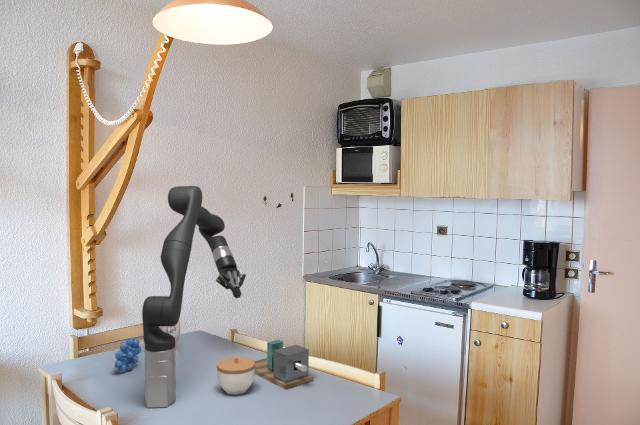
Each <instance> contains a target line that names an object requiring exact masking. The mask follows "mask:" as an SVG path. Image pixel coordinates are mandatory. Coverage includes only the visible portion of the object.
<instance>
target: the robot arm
mask: <svg viewBox="0 0 640 425" xmlns="http://www.w3.org/2000/svg"><path fill="white" fill-rule="evenodd" d="M167 202H168V205H169V208H170V209H171V210H172V211H173V212H175V213H177V214H180V215H181V216H183V217H182V218H181V220H180V221H179V222H178V223H177V224H176V225H175V226H174V228H172V230H171V231H170V232H169V233H168V234H167V235H166V237H165V239H164V241H163V245H162V248H161V253H160V262H161V265H162V268H163V269H164V271H165V273H166V275H167V278H168V281H169V283H170V292H169V295H167V296H165V295H151V296H150V295H148V296H147V297H146V298H145V299H144V302H143V304H142V309H141V310H142V311H141V314H142V315H141V316H142V330H143V332H142V333H143V334H142V335H143V336H142V338H143V343H144V404H145V405H146V408H168V407H169V406H170V405H172V404H174V402H176V400H177V399H176V398H177V397H176V394H177V393H176V392H177V390H176V389H177V386H176V385H177V382H176V376H177V375H176V374H177V373H176V368H177V367H176V365H177V364H176V361H177V360H176V357H177V356H176V341H175V337H174V336H172V335H170V334H168V333H166V332H164V331H162V328H160V327H162V326H175V325H176V324H177V323H178V321H179V318H180V317H181V313H182V305H183V304H182V303H183V297H184V289H185V280H186V277H187V270H188V267H189V261H190V258H191V253H192V252H191V251H192V247H193V241H194V240H193V239H194V235H195V230H196V226H197V227H198V232H199V234H200V235H201V237H203V238H204V240H205V241H206V243H207V244H208V246H209V248H210V251H211V253H212V258H213V261H214V264H215V266H216V269H217V272H218V273H219V274H218V276H217V278H216V279H215V282H217V283H218V284H219V285H221V287H223V288H224V289H225V290H230V291H231V293H232V295H233V297H234V298H235V299H240V298H241V296H242V292H241V289H240V288H241V287H242V286H243V285H244V281H245V279H246V277H247V274H246V273H243V274H242V273H241V272H240V270H239V268H238V264H237V263H236V260H235V258H234V255H233V253H232V250H231V249H230V247H229V244H228V242H227V239H226V237H225V236H224V235H219V234H221V233H222V232H223V231H224V230H225V228H226V226H225V222H224V220H223V219H222V218H221V217H220V216H219V215H217V214H214V213H211V212H210V211H209V210H208V209H207V208H205V207H204V206H202V204H203V192H202V188H200V187H199V186H197V185H179V186H173V187H171V188H170V189H169V191H168V193H167ZM180 319H181V318H180Z"/></svg>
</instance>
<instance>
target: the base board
mask: <svg viewBox="0 0 640 425" xmlns="http://www.w3.org/2000/svg"><path fill="white" fill-rule="evenodd" d="M254 362H255V374H254V375H257V376H258V377H260V378H263V379H264V380H266V381H268V382H270V383H272V384H274V385H276V386H278V387H279V386H280V388H281V387H282V388H281V389H283V388H284V389H283V390H285V389H286V390H290V389H293V388H296V387H299V386H302V385H305V384H304V383H306V384H308V383H307V382H309V383H311V382H310V381H312V382H314V376H313V375H310V374H308V377H304V378H301V379H298V380H295V381H292V382H288V383H284V382H282V381H280V380H278V379H276V378H274V370H270V369H268V368H267V357H266V358H262V359H259V360H256V361H255V360H254ZM301 384H302V385H301ZM298 385H299V386H298ZM295 386H296V387H295ZM292 387H293V388H292ZM289 388H290V389H289Z"/></svg>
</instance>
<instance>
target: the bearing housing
mask: <svg viewBox="0 0 640 425" xmlns="http://www.w3.org/2000/svg"><path fill="white" fill-rule="evenodd" d="M309 352H310V350H309V348H305V347H304V346H301V345H298V344H293V345H290V346H285V347H283V348H281V349H277V350H274V378H276V379H278V380H280V381H282V382H284V383H288V382H292V381H295V380H298V379H301V378H304V377H308V375H309V364H310V362H309V360H310V359H309V358H310V357H309V354H310V353H309ZM294 362H298V363H301V364H303V365H305V366H307V367H308V370H307V372H303V371H301V370H299V369H297V368H295V367H294Z"/></svg>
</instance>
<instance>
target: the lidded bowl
mask: <svg viewBox="0 0 640 425" xmlns="http://www.w3.org/2000/svg"><path fill="white" fill-rule="evenodd" d="M254 361H255V360H254V359H252V358H250V357H242V356H235V357H234V356H233V357H227V358H224V359H221V360H219V361H218V362H217V363H216V372H217V374H216V375H217V381H218V384H219V386H220V388H221V389H223V390H224V391H225V393H226V394H228V395H234V396H235V395H241V394H245V393H246V392H247V391H248V389H249V388H250V387H251V386H252V384H253V382H254V379H255V375H256V374H255V362H254Z"/></svg>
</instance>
